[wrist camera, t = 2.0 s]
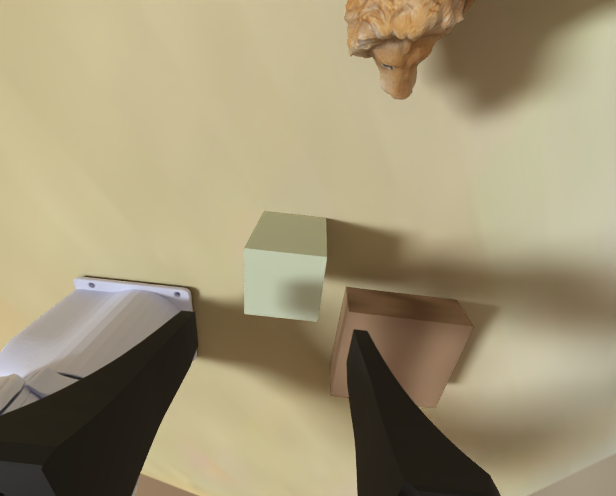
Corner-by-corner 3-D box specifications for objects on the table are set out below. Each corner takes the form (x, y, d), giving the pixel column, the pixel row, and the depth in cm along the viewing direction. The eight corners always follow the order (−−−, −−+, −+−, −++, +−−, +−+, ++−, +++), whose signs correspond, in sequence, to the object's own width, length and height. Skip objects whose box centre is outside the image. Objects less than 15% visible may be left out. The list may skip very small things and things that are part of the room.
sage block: (262, 264, 23) (244, 313, 18) (264, 210, 21) (244, 248, 16) (319, 271, 23) (317, 321, 18) (326, 217, 21) (327, 257, 16)
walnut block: (329, 362, 28) (330, 395, 25) (345, 284, 24) (348, 311, 21) (423, 373, 28) (435, 407, 25) (454, 297, 24) (473, 326, 21)
